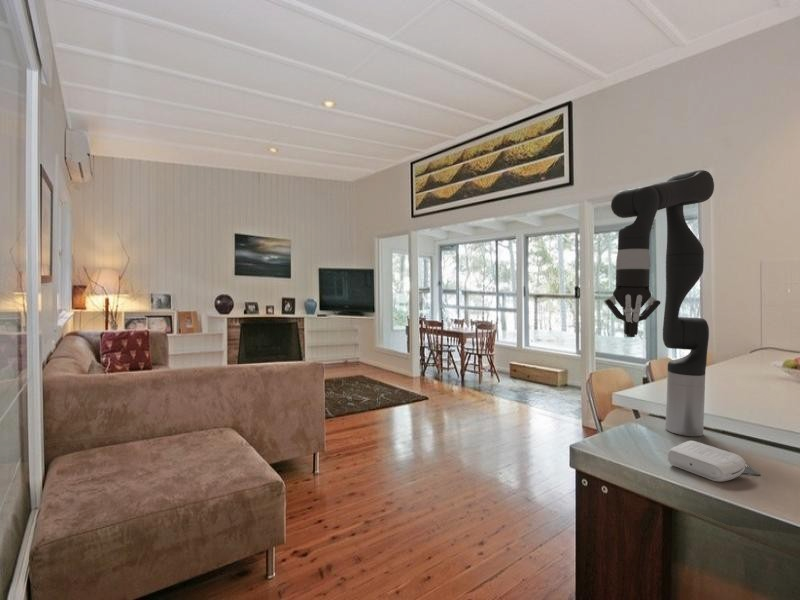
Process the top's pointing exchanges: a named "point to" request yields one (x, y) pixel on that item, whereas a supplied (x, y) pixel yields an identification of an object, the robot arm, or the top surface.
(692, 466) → the photo printer
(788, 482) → the top surface
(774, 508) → the top surface
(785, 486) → the top surface
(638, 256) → the robot arm
